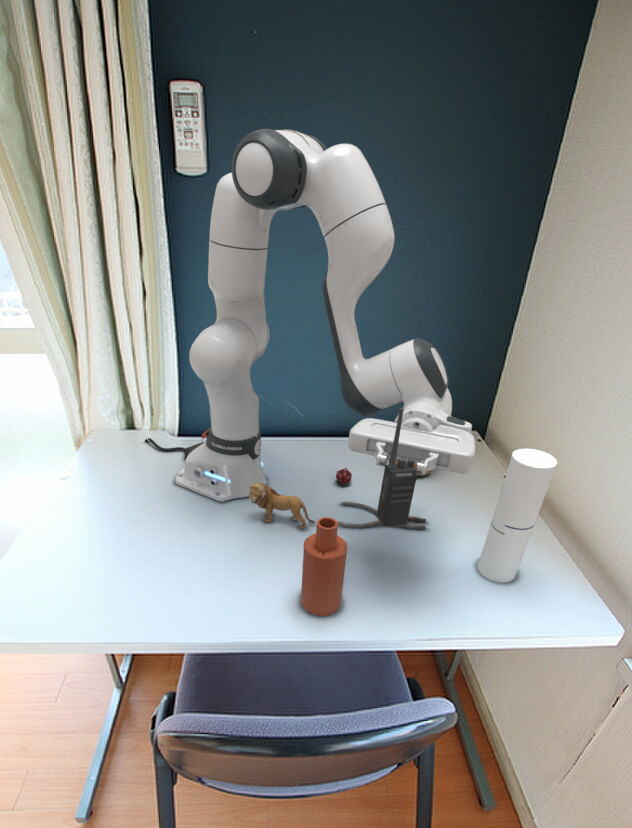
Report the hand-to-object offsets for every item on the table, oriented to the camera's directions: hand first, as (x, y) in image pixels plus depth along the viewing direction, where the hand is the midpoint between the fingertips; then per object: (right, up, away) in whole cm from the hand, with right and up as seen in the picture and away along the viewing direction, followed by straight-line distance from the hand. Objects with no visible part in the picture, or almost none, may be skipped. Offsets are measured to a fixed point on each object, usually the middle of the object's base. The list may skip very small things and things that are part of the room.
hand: (400, 466), depth 79 cm
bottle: (-11, -23, +14) cm, 29 cm away
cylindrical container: (+24, -18, +23) cm, 38 cm away
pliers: (+3, -7, +37) cm, 38 cm away
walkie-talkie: (0, -9, +7) cm, 11 cm away
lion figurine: (-19, -9, +35) cm, 41 cm away
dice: (-3, +1, +49) cm, 49 cm away
